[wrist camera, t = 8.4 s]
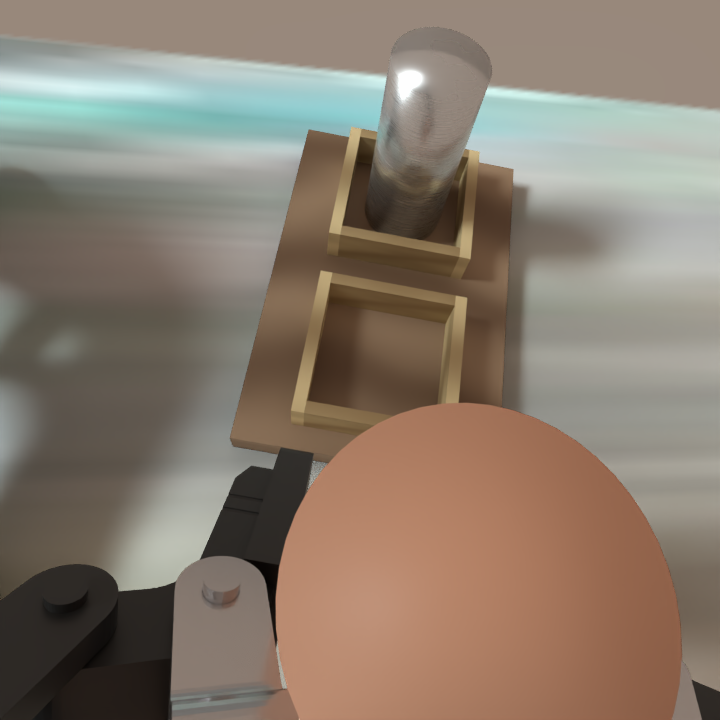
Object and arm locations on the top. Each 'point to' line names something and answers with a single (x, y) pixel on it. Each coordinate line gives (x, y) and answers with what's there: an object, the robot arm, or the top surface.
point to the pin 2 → (474, 579)
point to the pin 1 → (424, 128)
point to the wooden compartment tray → (375, 306)
